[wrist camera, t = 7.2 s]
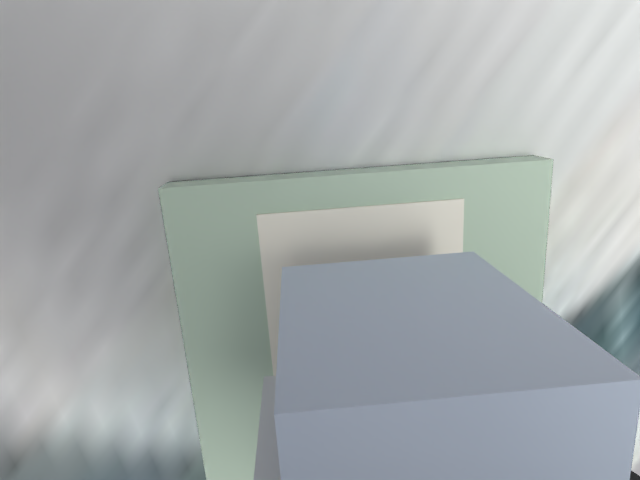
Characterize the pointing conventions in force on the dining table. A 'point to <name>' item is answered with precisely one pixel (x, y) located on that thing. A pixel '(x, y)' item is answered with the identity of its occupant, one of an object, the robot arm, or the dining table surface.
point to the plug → (441, 378)
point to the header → (323, 261)
